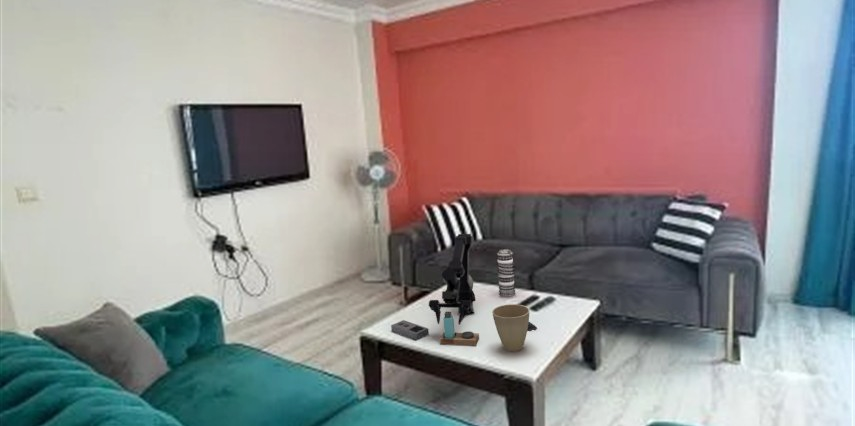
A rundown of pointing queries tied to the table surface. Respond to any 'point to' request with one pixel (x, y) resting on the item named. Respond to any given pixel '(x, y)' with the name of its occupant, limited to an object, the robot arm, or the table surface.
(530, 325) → the phone
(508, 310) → the plant pot
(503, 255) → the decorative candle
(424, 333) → the port block
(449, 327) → the plug
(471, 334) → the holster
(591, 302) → the table surface
